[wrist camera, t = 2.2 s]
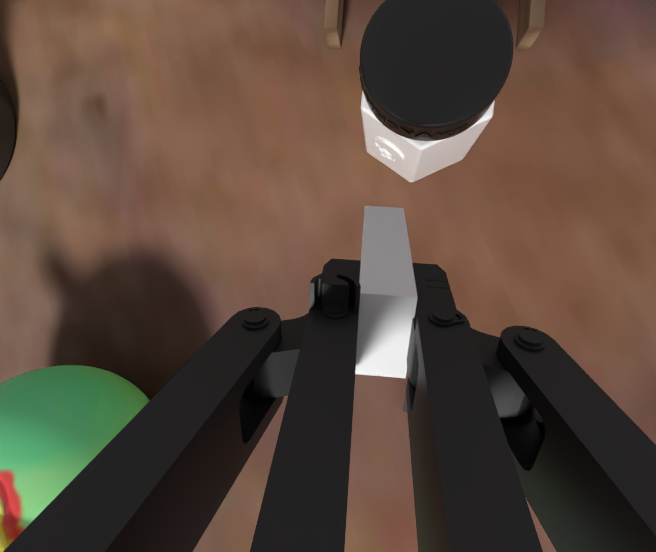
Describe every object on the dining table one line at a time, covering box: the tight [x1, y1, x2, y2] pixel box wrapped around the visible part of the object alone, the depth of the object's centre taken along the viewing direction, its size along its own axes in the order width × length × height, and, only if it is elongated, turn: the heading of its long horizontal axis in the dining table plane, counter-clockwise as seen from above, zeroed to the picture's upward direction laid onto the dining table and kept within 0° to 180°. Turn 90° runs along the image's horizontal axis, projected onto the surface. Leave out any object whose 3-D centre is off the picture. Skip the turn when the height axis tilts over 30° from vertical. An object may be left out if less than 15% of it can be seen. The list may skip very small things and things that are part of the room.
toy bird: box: [0, 365, 150, 552], centre depth 31 cm, size 18×17×15 cm
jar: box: [359, 0, 513, 182], centre depth 28 cm, size 9×8×12 cm
